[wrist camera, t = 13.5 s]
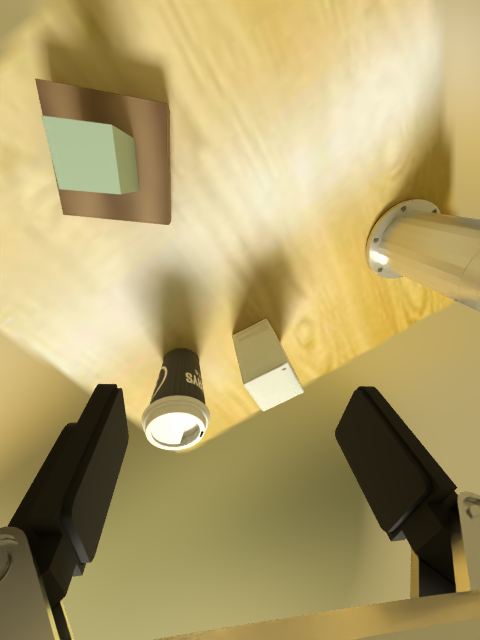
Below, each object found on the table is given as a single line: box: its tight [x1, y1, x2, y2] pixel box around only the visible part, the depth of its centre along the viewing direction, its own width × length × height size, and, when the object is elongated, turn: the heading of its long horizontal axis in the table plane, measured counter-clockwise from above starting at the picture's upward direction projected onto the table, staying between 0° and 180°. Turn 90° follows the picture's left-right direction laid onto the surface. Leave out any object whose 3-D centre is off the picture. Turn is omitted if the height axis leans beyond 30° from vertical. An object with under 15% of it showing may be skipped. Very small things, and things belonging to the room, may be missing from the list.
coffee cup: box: [142, 349, 210, 450], centre depth 40 cm, size 10×10×15 cm
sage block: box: [42, 116, 139, 194], centre depth 24 cm, size 5×5×8 cm
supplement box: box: [232, 318, 304, 411], centre depth 41 cm, size 7×7×13 cm
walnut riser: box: [35, 79, 171, 225], centre depth 29 cm, size 12×12×4 cm
